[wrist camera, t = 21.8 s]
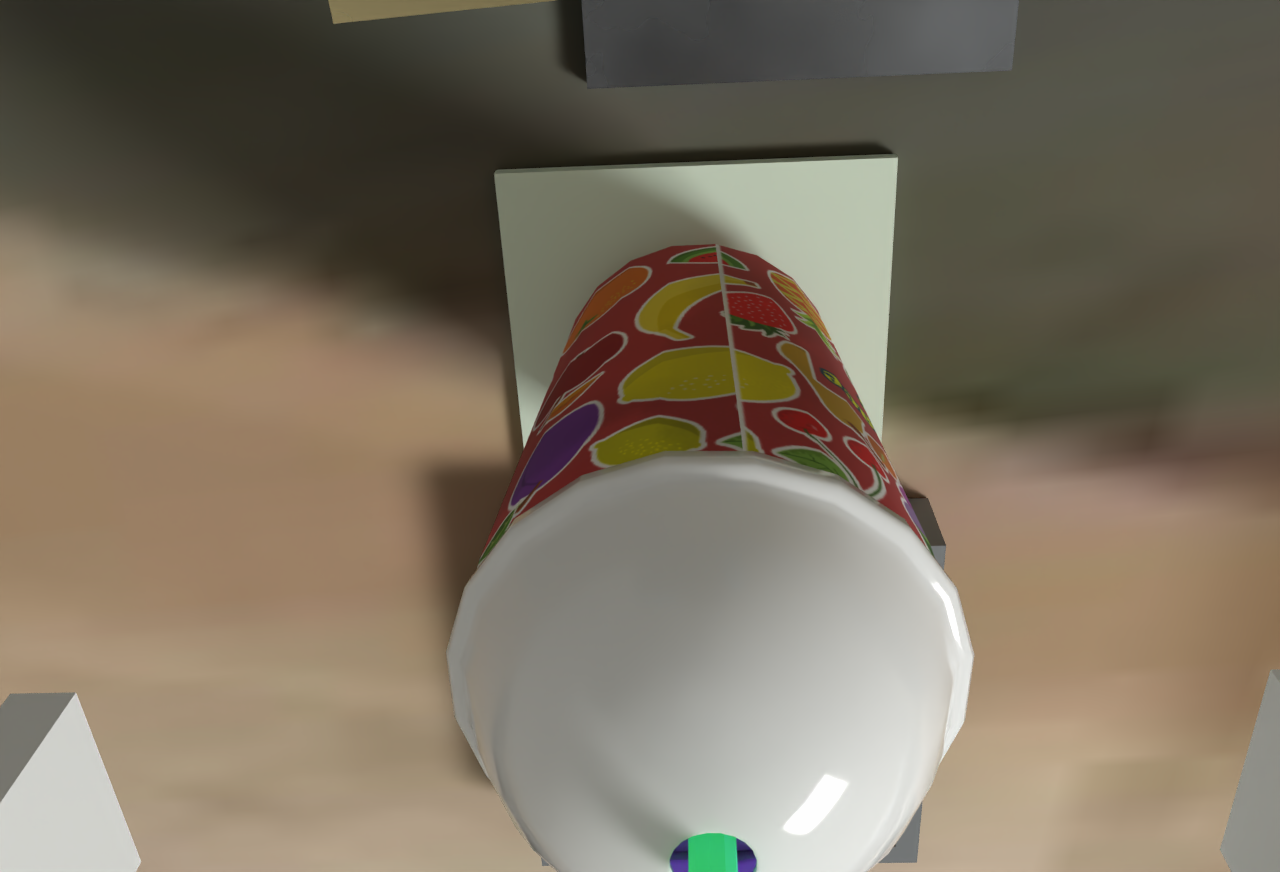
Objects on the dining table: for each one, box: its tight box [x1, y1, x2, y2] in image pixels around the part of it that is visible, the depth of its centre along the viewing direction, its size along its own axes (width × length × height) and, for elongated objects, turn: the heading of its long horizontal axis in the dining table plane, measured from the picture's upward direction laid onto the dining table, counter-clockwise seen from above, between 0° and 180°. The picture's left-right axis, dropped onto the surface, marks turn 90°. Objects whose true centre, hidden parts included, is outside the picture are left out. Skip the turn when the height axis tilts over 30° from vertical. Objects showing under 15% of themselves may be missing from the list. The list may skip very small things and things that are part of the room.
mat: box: [494, 154, 898, 447], centre depth 30 cm, size 10×10×1 cm
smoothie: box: [446, 244, 974, 872], centre depth 21 cm, size 8×8×20 cm
